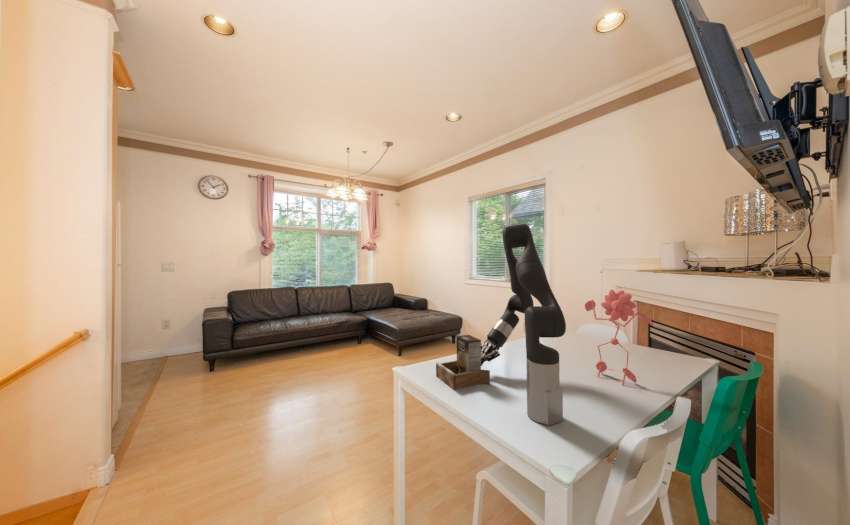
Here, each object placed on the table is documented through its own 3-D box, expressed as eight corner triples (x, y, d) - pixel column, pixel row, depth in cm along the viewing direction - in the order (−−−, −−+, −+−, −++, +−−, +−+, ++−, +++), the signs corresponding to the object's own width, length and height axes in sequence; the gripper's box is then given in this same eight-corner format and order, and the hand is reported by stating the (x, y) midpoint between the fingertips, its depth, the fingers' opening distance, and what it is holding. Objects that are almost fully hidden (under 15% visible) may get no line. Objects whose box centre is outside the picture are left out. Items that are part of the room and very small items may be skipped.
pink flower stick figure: (647, 394, 102) (647, 293, 102) (577, 371, 124) (577, 288, 125) (667, 385, 110) (667, 291, 110) (597, 365, 132) (597, 287, 132)
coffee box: (456, 374, 122) (455, 335, 122) (469, 372, 125) (469, 334, 125) (467, 382, 114) (467, 341, 114) (481, 379, 117) (481, 339, 116)
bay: (491, 384, 113) (490, 369, 113) (456, 392, 106) (456, 376, 106) (465, 368, 129) (465, 355, 129) (433, 374, 123) (433, 361, 123)
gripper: (485, 324, 131) (462, 356, 126) (505, 331, 119) (480, 366, 114) (495, 335, 133) (473, 366, 128) (515, 342, 121) (491, 377, 116)
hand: (476, 366), depth 121 cm, fingers closed
